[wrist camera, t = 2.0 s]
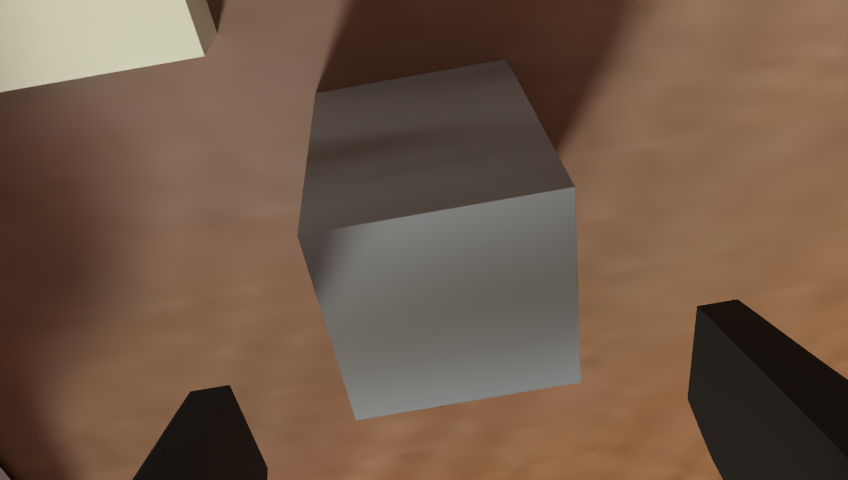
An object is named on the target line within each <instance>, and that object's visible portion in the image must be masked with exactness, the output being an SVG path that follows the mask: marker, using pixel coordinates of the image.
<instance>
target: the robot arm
mask: <svg viewBox="0 0 848 480" xmlns="http://www.w3.org/2000/svg"><path fill="white" fill-rule="evenodd" d="M688 401H689V403H690V406H691V408H692V411H693V413H694V416H695V418H696V421H697V423H698V426H699V429H700V431H701V434H702V436H703V438H704V441H705V443H706V445H707V448H708V450H709V453H710V455H711V457H712V460H713V462H714V463H715V465H716V467H717V469H718V471H719V473H720V475H721V476H722V478H723V480H848V380H847V379H846V378H844V377H843V376H842V375H840V374H839V373H837V372H836V371H835V370H833V369H832V368H830V367H829V366H828V365H826V364H825V363H823V362H822V361H821V360H819V359H818V358H817V357H815V356H814V355H812V354H811V353H810V352H808V351H807V350H806V349H804V348H803V347H801V346H800V345H799V344H797V343H796V342H795V341H793V340H792V339H791V338H789V337H788V336H787V335H785V334H784V333H782V332H781V331H780V330H778V329H777V328H776V327H774V326H773V325H772V324H770V323H769V322H768V321H766V320H765V319H764V318H762V317H761V316H760V315H758V314H757V313H756V312H754V311H753V310H751V309H750V308H749V307H747V306H746V305H745V304H743V303H742V302H740V301H739V300H738V299H737V300H731V301H725V302H719V303H713V304H708V305H702V306H697V313H696V323H695V333H694V342H693V352H692V362H691V371H690V381H689V391H688ZM267 469H268V468H267V466H266V464H265V462H264V459H263V457H262V455H261V453H260V451H259V448H258V446H257V444H256V442H255V440H254V437H253V435H252V433H251V431H250V429H249V427H248V424H247V422H246V420H245V418H244V416H243V413H242V411H241V409H240V407H239V405H238V402H237V400H236V398H235V396H234V394H233V392H232V389H231V387H230V385H227V386H221V387H215V388H209V389H203V390H197V391H191V392H190V393H189V395H188V396H187V397H186V399H185V400H184V402H183V403H182V405H181V406H180V408H179V409H178V411H177V412H176V414H175V415H174V417H173V418H172V420H171V422H170V423H169V425H168V426H167V428H166V429H165V431H164V432H163V434H162V435H161V437H160V438H159V440H158V442H157V443H156V445H155V446H154V448H153V449H152V451H151V452H150V454H149V455H148V457H147V458H146V460H145V461H144V463H143V464H142V466H141V467H140V469H139V471H138V472H137V474H136V475H135V477H134V478H133V480H267ZM0 480H10V478H9V477H8V476H7V475H6V473H5V472H4V471H3V470H2V469H1V467H0Z"/></svg>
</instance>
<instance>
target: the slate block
mask: <svg viewBox="0 0 848 480" xmlns="http://www.w3.org/2000/svg"><path fill="white" fill-rule="evenodd" d="M297 236H298V239H299V242H300V245H301V248H302V251H303V255H304V258H305V261H306V264H307V267H308V270H309V274H310V277H311V280H312V283H313V286H314V289H315V293H316V296H317V299H318V302H319V305H320V308H321V312H322V315H323V318H324V321H325V324H326V327H327V331H328V334H329V337H330V340H331V343H332V346H333V349H334V353H335V356H336V359H337V362H338V365H339V368H340V372H341V375H342V378H343V381H344V384H345V387H346V391H347V394H348V397H349V400H350V403H351V406H352V410H353V413H354V416H355V419H356V420H361V419H367V418H373V417H378V416H384V415H390V414H396V413H402V412H408V411H414V410H420V409H426V408H431V407H437V406H443V405H449V404H455V403H461V402H467V401H473V400H479V399H484V398H490V397H496V396H502V395H508V394H514V393H520V392H526V391H532V390H537V389H543V388H549V387H555V386H561V385H567V384H573V383H579V382H581V377H580V343H579V309H578V275H577V241H576V207H575V186H574V184H573V182H572V181H571V179H570V177H569V175H568V173H567V171H566V169H565V168H564V166H563V164H562V162H561V160H560V158H559V156H558V154H557V153H556V151H555V149H554V147H553V145H552V143H551V141H550V140H549V138H548V136H547V134H546V132H545V130H544V128H543V126H542V125H541V123H540V121H539V119H538V117H537V115H536V113H535V112H534V110H533V108H532V106H531V104H530V102H529V100H528V98H527V97H526V95H525V93H524V91H523V89H522V87H521V85H520V84H519V82H518V80H517V78H516V76H515V74H514V72H513V70H512V69H511V67H510V65H509V63H508V61H507V59H504V60H498V61H492V62H487V63H481V64H475V65H470V66H464V67H459V68H453V69H447V70H442V71H436V72H431V73H425V74H419V75H414V76H408V77H403V78H397V79H391V80H386V81H380V82H375V83H369V84H363V85H358V86H352V87H347V88H341V89H335V90H330V91H324V92H318V93H316V94H315V102H314V110H313V118H312V125H311V133H310V141H309V149H308V157H307V165H306V172H305V180H304V188H303V196H302V204H301V212H300V219H299V227H298V235H297Z"/></svg>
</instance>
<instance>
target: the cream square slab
mask: <svg viewBox="0 0 848 480" xmlns="http://www.w3.org/2000/svg"><path fill="white" fill-rule="evenodd" d="M216 35H217V31H216V28H215V25H214V22H213V19H212V16H211V13H210V10H209V7H208V4H207V0H0V92H4V91H10V90H16V89H21V88H27V87H33V86H38V85H44V84H50V83H55V82H61V81H67V80H72V79H78V78H84V77H89V76H95V75H101V74H106V73H112V72H118V71H123V70H129V69H135V68H140V67H146V66H152V65H157V64H163V63H169V62H174V61H180V60H186V59H191V58H197V57H203V56H205V55H206V53H207V51H208V49H209V47H210V45H211V44H212V42H213V40H214V38H215V36H216Z"/></svg>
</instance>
